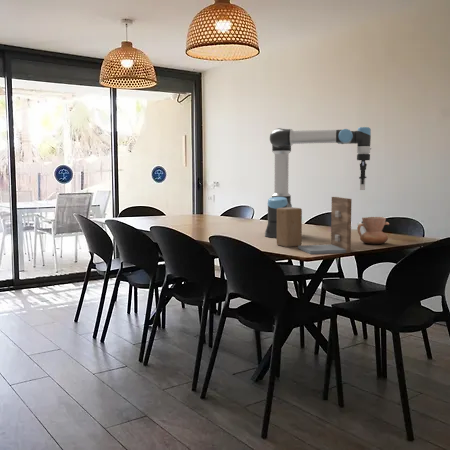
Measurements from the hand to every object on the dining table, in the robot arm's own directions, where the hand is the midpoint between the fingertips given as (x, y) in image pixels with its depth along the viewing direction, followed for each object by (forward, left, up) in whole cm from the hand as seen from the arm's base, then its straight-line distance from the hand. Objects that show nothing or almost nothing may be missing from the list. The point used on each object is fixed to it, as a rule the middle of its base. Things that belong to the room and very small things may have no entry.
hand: (362, 189), depth 314 cm
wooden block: (-37, -50, -28) cm, 68 cm away
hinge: (+2, 0, -28) cm, 28 cm away
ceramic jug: (+6, -33, -28) cm, 44 cm away
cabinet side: (-11, -60, -28) cm, 67 cm away
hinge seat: (-19, -64, -28) cm, 72 cm away
